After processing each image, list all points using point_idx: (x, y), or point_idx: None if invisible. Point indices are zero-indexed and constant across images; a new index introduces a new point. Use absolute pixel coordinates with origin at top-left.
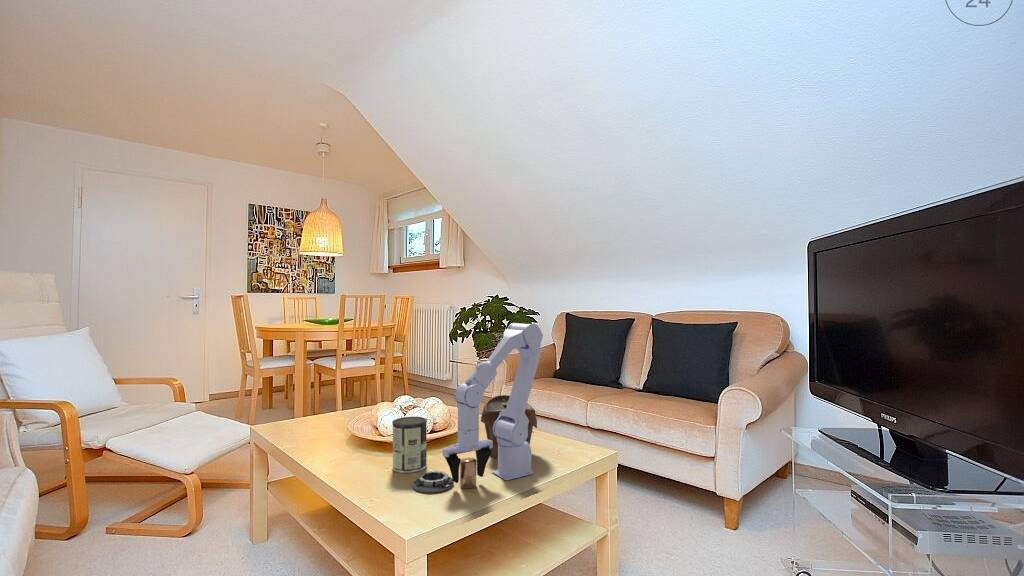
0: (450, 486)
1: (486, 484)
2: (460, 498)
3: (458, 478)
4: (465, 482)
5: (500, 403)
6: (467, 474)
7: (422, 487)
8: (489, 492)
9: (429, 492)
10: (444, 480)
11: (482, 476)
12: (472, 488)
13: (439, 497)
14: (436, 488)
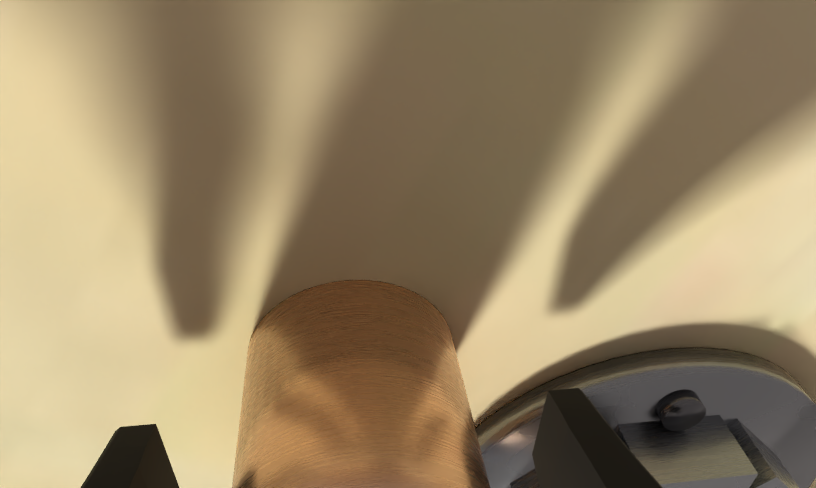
0: None
1: (97, 317)
2: (664, 95)
3: (580, 433)
4: (445, 371)
5: None
6: (445, 468)
7: (783, 456)
8: (154, 49)
9: (786, 373)
10: None
11: (127, 429)
12: (344, 284)
13: (802, 249)
14: (722, 400)
